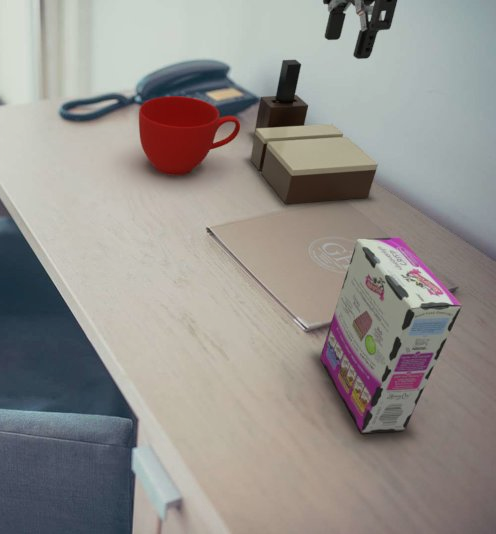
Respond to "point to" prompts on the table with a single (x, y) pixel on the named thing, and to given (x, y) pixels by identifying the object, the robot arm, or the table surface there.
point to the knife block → (280, 113)
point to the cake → (318, 170)
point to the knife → (288, 81)
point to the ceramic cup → (180, 132)
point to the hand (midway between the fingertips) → (345, 48)
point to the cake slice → (288, 137)
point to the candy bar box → (387, 333)
